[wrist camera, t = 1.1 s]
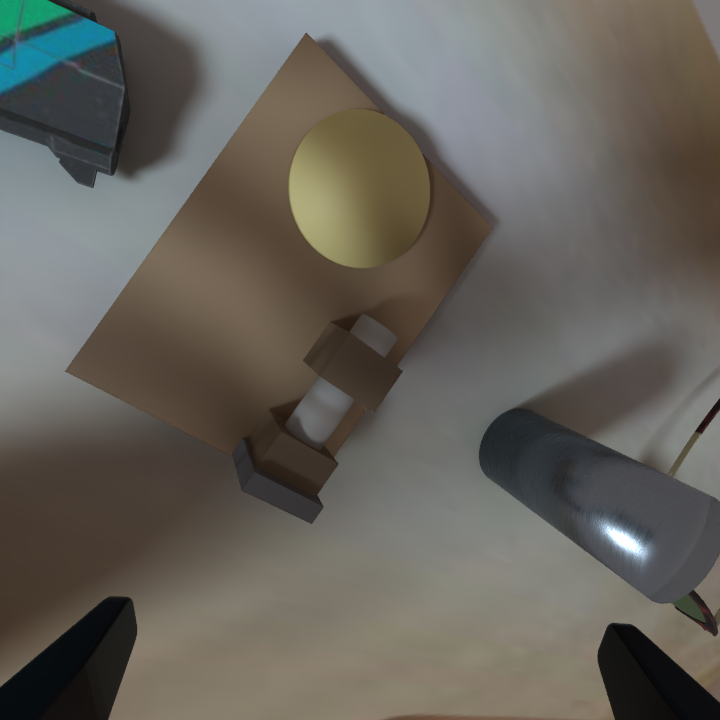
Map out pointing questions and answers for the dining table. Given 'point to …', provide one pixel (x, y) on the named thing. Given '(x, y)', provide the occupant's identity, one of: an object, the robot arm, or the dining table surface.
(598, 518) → the silver metal cylinder
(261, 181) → the door lock
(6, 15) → the handgun
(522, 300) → the dining table surface
